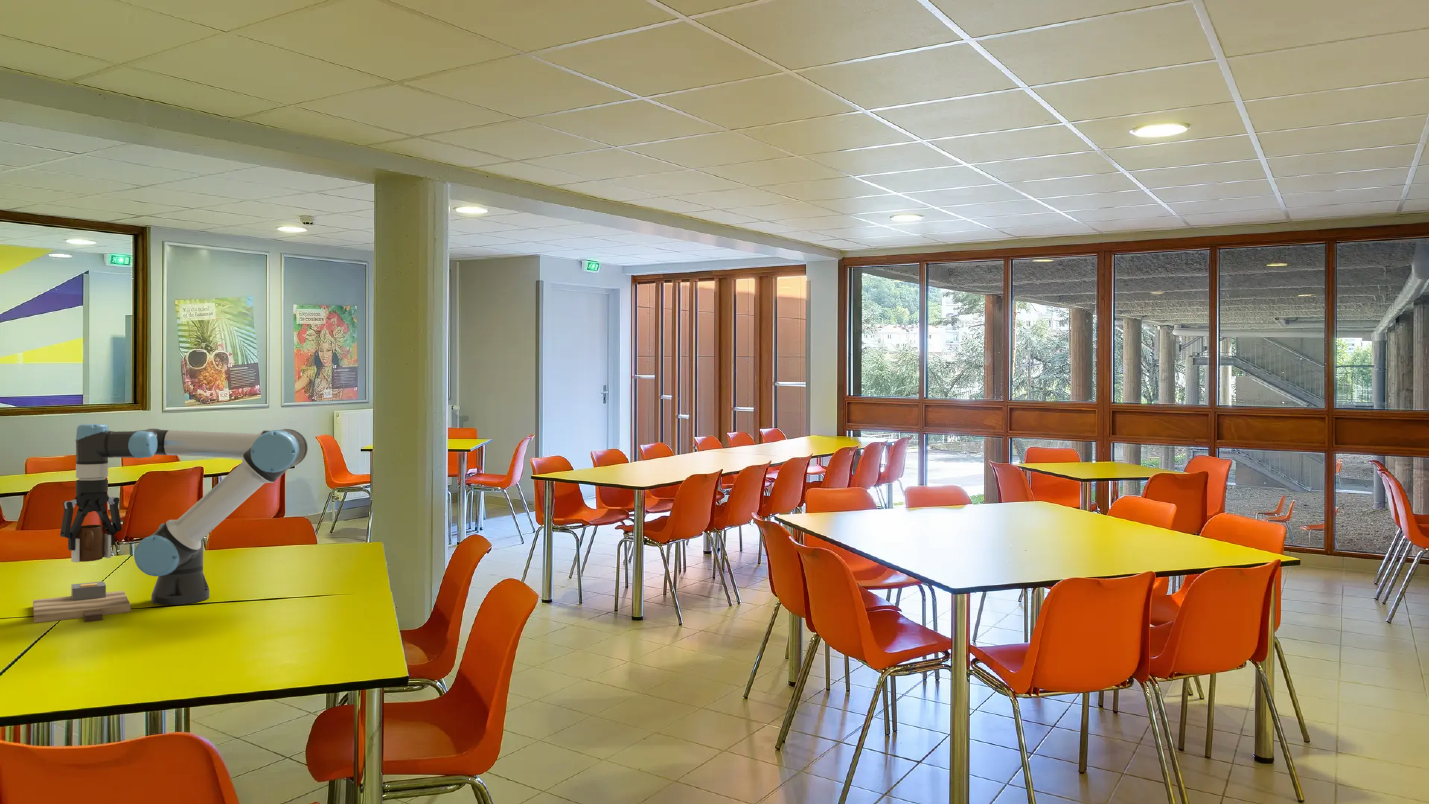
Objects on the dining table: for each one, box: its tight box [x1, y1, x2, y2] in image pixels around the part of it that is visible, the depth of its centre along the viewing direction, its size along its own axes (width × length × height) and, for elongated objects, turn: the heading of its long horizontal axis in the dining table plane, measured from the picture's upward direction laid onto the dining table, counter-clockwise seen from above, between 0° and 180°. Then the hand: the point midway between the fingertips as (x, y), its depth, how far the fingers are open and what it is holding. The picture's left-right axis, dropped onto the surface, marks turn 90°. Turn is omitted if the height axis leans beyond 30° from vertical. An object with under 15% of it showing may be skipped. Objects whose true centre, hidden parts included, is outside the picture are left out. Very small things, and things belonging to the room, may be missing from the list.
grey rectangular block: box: [70, 580, 107, 601], centre depth 269 cm, size 7×8×4 cm
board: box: [32, 590, 132, 624], centre depth 260 cm, size 28×22×2 cm
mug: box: [76, 524, 105, 563], centre depth 259 cm, size 12×8×9 cm, turn 38°
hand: (91, 559), depth 259 cm, fingers closed on mug, 8 cm apart
